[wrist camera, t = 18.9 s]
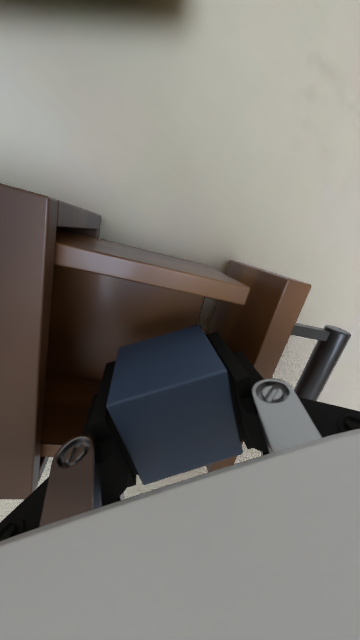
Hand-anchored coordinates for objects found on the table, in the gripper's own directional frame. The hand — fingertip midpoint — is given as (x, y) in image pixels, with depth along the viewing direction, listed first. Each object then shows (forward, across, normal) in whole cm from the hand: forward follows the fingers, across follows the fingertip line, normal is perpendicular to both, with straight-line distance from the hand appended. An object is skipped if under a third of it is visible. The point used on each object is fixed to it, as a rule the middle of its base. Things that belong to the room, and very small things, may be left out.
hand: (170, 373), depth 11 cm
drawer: (+6, -1, 0) cm, 6 cm away
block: (0, 0, 0) cm, 0 cm away
